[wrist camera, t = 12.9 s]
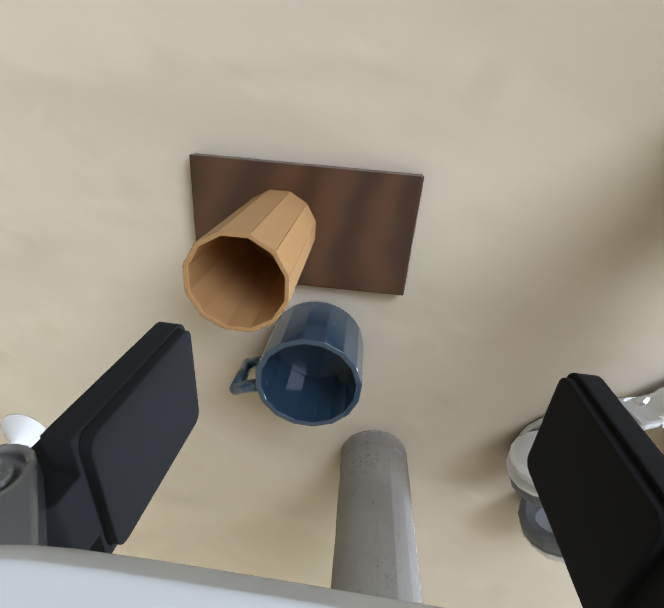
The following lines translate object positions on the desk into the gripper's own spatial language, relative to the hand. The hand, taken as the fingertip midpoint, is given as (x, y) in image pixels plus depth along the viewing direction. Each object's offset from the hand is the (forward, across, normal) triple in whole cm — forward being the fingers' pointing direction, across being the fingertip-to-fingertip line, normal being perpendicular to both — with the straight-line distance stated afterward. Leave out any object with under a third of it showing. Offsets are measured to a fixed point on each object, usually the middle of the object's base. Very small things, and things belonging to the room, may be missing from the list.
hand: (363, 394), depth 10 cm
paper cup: (+26, +8, +4) cm, 28 cm away
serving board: (+28, +6, +4) cm, 28 cm away
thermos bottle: (+28, -4, +32) cm, 42 cm away
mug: (+27, +6, +17) cm, 33 cm away
